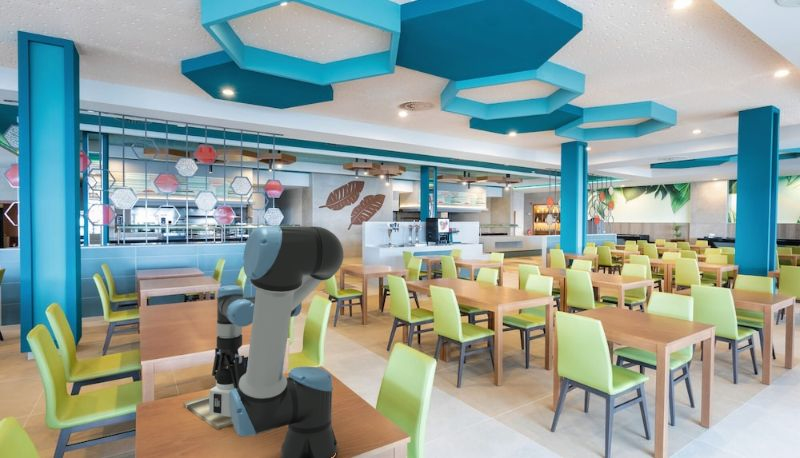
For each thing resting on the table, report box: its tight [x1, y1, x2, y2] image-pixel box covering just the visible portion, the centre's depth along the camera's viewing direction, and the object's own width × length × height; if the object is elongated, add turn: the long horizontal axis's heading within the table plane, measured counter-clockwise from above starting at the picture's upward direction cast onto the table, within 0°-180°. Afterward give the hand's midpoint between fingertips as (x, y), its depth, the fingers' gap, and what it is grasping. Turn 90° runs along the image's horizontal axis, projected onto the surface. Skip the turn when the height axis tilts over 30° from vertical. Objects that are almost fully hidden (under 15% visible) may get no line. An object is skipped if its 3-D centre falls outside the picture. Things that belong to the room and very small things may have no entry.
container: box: [209, 367, 234, 417], centre depth 131 cm, size 8×8×13 cm
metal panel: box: [182, 393, 233, 431], centre depth 137 cm, size 24×10×1 cm, turn 50°
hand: (228, 404), depth 132 cm, fingers closed on container, 10 cm apart
